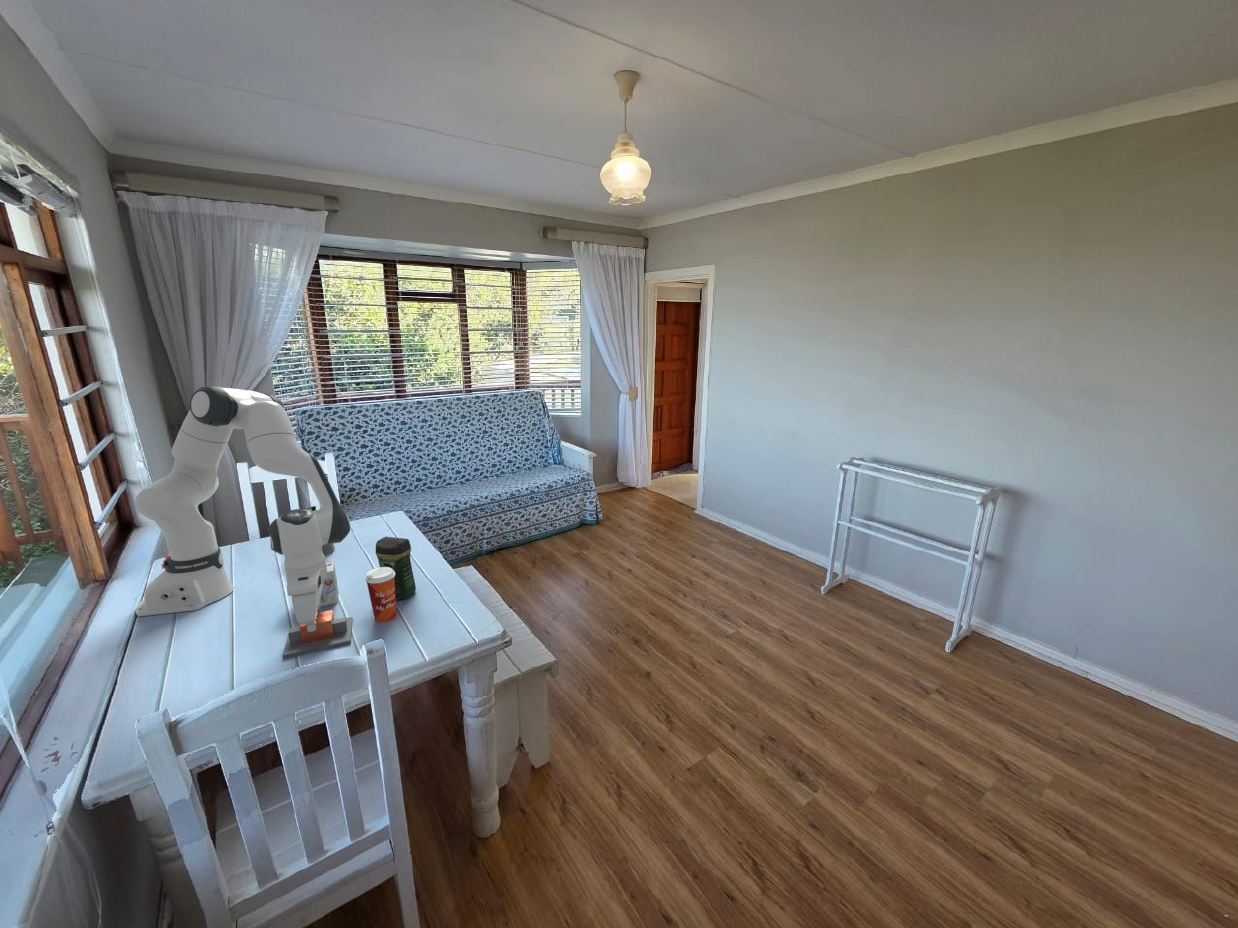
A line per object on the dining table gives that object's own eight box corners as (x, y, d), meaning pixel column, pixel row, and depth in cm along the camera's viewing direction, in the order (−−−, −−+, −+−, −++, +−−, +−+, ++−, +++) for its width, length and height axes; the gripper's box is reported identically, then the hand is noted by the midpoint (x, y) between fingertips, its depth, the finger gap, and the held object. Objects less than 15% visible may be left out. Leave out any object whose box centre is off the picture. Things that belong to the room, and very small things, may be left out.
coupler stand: (283, 658, 124) (280, 644, 123) (290, 633, 134) (287, 620, 133) (351, 643, 130) (348, 629, 129) (352, 619, 141) (350, 607, 140)
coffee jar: (420, 589, 157) (414, 535, 152) (404, 602, 150) (397, 545, 145) (394, 585, 159) (387, 531, 154) (376, 598, 152) (369, 542, 147)
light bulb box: (297, 611, 144) (290, 578, 142) (299, 601, 150) (293, 568, 147) (339, 603, 149) (333, 570, 146) (339, 592, 155) (334, 561, 152)
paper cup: (381, 627, 137) (375, 581, 134) (365, 618, 141) (358, 574, 137) (406, 614, 144) (400, 570, 140) (390, 606, 148) (384, 563, 144)
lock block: (302, 643, 128) (299, 626, 127) (305, 632, 133) (302, 615, 132) (333, 636, 131) (331, 620, 130) (335, 626, 136) (332, 609, 135)
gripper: (298, 557, 135) (305, 603, 138) (285, 593, 117) (294, 644, 120) (324, 553, 137) (331, 598, 141) (316, 588, 119) (324, 638, 123)
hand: (314, 620), depth 130 cm, fingers open, 8 cm apart
